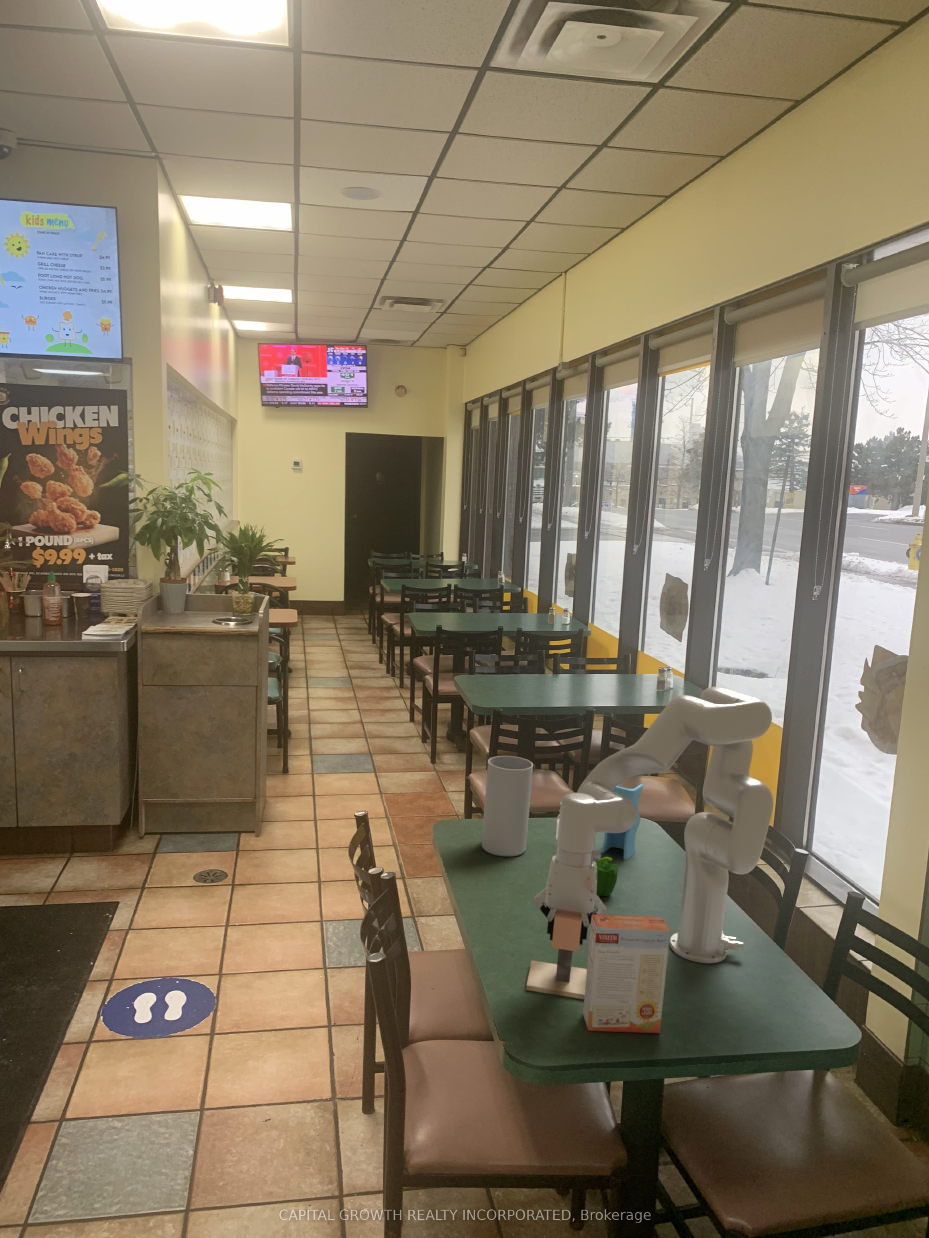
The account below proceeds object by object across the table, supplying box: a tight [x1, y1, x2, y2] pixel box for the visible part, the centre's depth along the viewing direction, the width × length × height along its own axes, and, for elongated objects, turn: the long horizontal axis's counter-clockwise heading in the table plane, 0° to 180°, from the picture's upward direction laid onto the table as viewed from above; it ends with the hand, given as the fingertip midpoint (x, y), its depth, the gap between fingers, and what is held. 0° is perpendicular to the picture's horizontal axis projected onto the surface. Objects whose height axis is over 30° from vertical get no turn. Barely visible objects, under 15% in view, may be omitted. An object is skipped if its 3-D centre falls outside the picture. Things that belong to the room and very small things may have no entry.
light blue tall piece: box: [599, 783, 644, 861], centre depth 253 cm, size 8×8×20 cm
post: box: [525, 949, 587, 1000], centre depth 183 cm, size 14×10×8 cm
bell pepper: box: [595, 856, 619, 897], centre depth 226 cm, size 8×8×10 cm
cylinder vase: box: [481, 755, 534, 857], centre depth 249 cm, size 12×12×25 cm
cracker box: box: [582, 914, 671, 1034], centre depth 169 cm, size 14×6×21 cm, turn 92°
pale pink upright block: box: [551, 909, 582, 953], centre depth 182 cm, size 5×5×7 cm
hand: (566, 938), depth 182 cm, fingers closed on pale pink upright block, 5 cm apart
